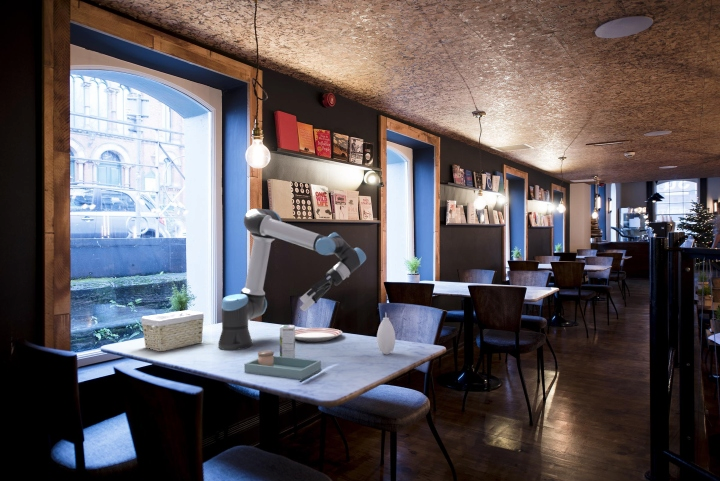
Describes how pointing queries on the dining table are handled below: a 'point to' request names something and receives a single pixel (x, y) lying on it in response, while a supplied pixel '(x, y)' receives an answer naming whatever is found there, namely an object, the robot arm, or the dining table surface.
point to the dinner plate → (316, 334)
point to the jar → (265, 358)
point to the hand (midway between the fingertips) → (301, 305)
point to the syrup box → (287, 341)
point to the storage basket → (172, 330)
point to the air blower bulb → (386, 336)
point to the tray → (285, 367)
